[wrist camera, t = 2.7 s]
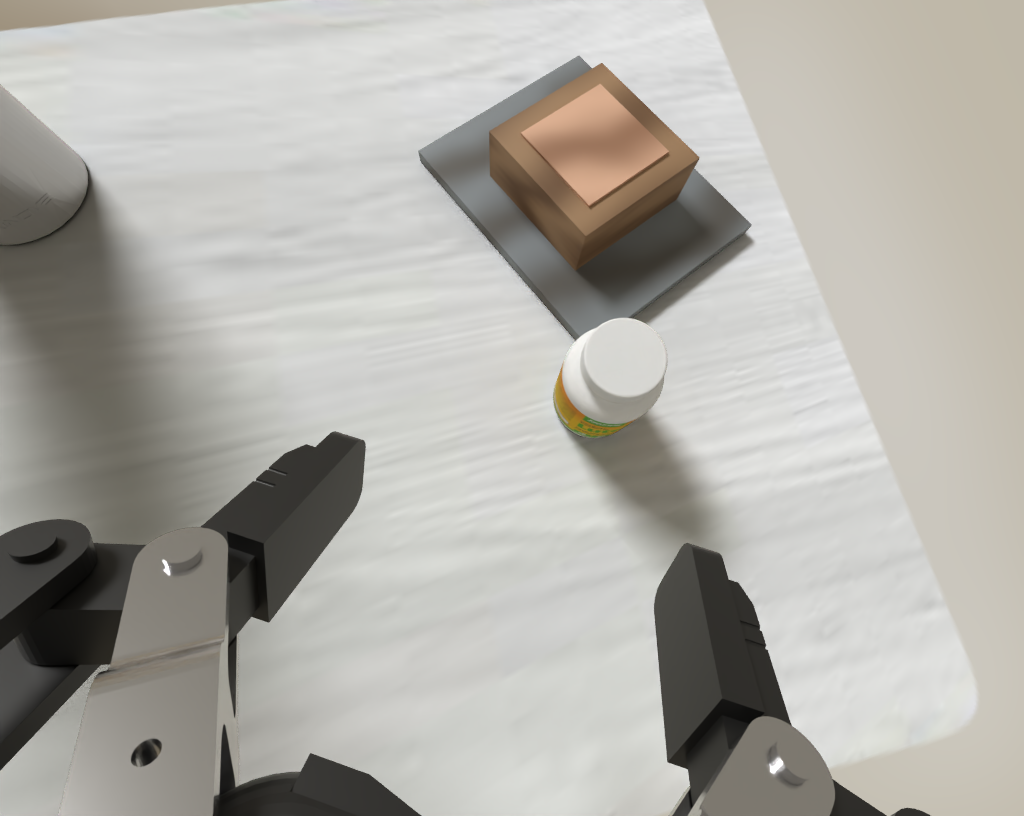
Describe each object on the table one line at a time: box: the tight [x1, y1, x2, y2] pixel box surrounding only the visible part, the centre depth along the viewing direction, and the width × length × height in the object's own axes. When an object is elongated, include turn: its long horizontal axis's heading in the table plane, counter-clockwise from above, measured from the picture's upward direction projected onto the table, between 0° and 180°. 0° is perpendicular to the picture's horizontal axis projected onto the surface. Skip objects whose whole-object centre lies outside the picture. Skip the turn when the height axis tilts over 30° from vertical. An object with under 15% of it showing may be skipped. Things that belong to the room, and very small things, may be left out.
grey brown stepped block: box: [419, 56, 751, 340], centre depth 33 cm, size 20×16×5 cm
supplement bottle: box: [553, 318, 667, 438], centre depth 26 cm, size 5×5×10 cm
